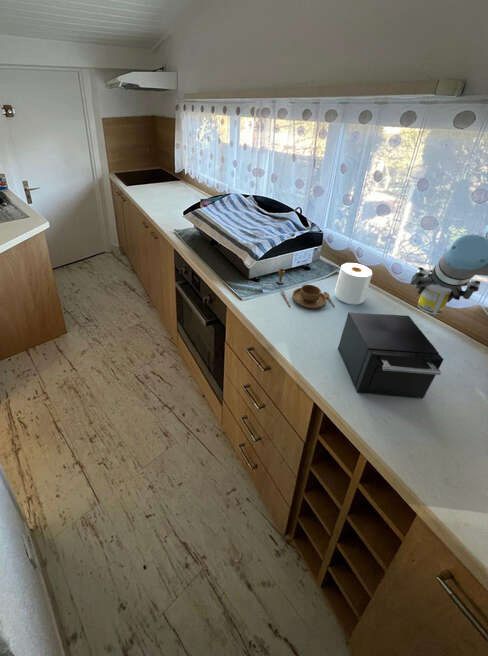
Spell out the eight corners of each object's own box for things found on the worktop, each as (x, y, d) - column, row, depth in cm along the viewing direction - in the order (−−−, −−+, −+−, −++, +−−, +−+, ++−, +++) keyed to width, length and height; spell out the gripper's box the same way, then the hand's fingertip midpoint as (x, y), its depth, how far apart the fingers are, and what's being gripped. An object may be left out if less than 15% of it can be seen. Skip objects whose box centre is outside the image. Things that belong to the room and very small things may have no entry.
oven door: (430, 409, 75) (452, 370, 68) (361, 403, 76) (376, 364, 70) (419, 393, 79) (439, 354, 72) (354, 387, 80) (368, 349, 74)
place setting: (290, 311, 109) (292, 297, 106) (274, 280, 127) (276, 268, 124) (338, 309, 110) (342, 296, 107) (315, 279, 127) (318, 267, 124)
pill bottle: (441, 306, 97) (455, 275, 91) (442, 317, 92) (457, 285, 87) (416, 300, 100) (429, 269, 95) (416, 310, 95) (429, 279, 90)
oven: (419, 392, 79) (439, 353, 72) (354, 387, 81) (368, 348, 74) (393, 352, 91) (408, 315, 85) (337, 348, 93) (348, 312, 86)
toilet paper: (353, 287, 121) (360, 261, 116) (369, 303, 112) (379, 275, 107) (329, 290, 120) (335, 263, 115) (343, 306, 111) (351, 278, 106)
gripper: (509, 268, 73) (477, 293, 92) (412, 248, 84) (401, 274, 103) (501, 297, 72) (470, 316, 91) (403, 272, 83) (394, 294, 101)
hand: (433, 293), depth 97 cm, fingers closed on pill bottle, 6 cm apart
